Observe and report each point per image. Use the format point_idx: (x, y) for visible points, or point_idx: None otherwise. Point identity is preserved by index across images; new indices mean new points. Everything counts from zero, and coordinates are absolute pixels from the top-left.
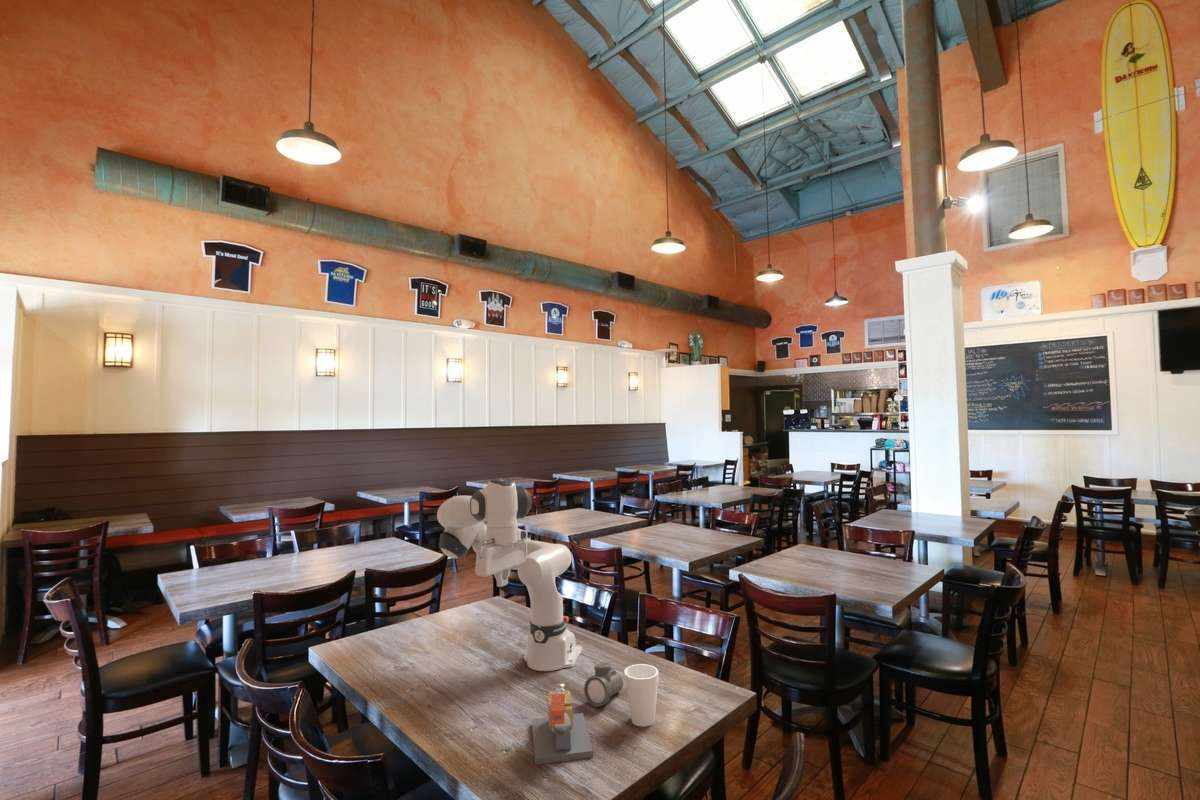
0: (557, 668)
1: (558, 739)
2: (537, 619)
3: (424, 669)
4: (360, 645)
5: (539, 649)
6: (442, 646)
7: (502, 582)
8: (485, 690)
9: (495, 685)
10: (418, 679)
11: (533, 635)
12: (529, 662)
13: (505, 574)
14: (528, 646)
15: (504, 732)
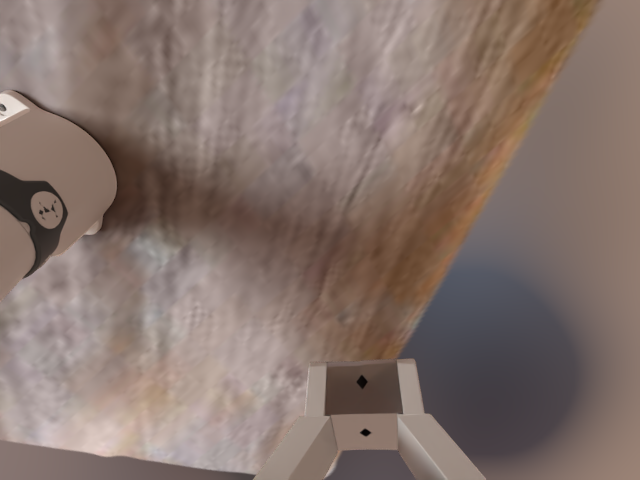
0: (59, 118)
1: None
2: (14, 248)
3: (275, 349)
4: None
5: (72, 188)
6: (192, 381)
7: (408, 392)
8: (265, 204)
9: (234, 201)
10: (309, 333)
11: (59, 228)
12: (107, 199)
13: (309, 474)
14: (79, 233)
15: (396, 16)
